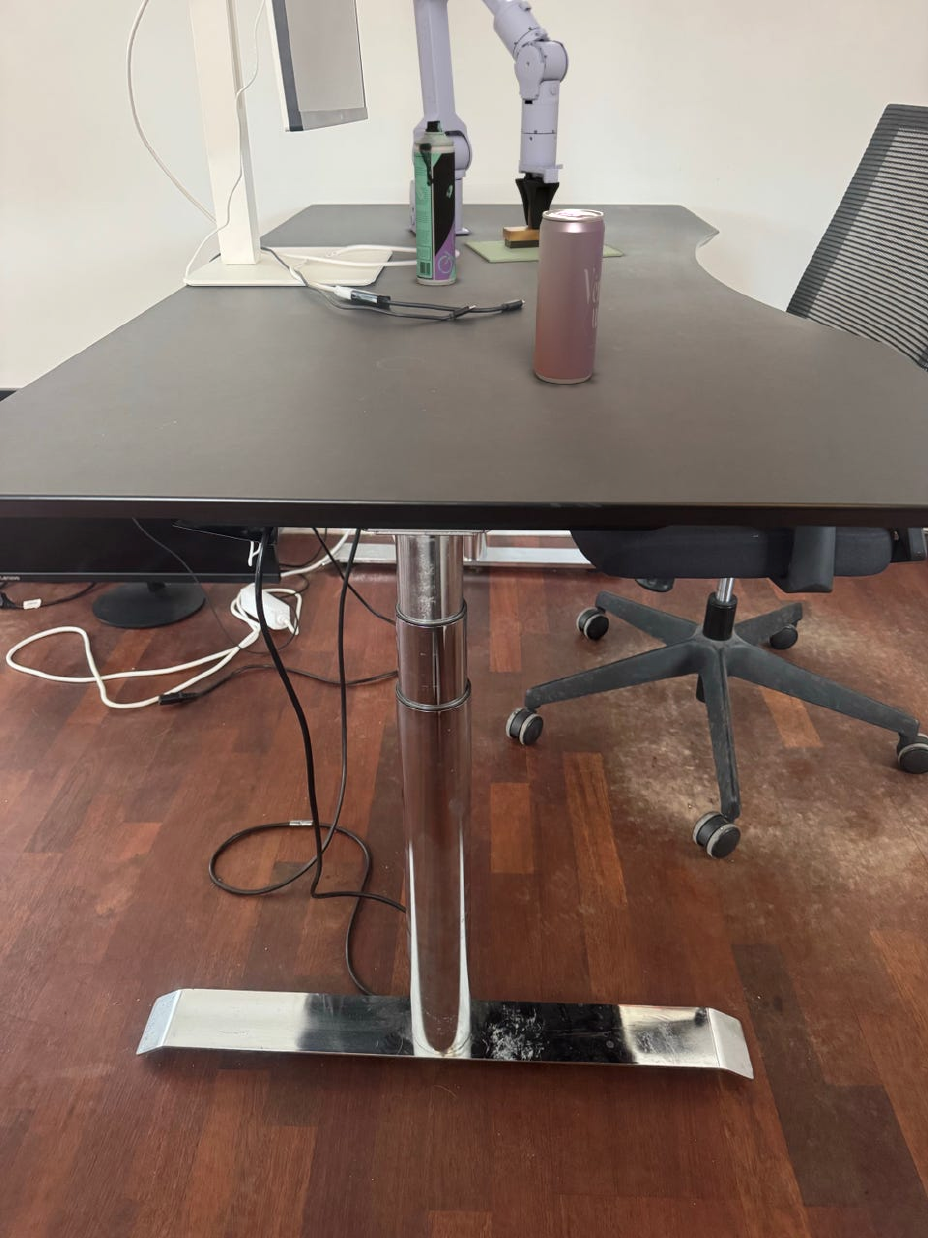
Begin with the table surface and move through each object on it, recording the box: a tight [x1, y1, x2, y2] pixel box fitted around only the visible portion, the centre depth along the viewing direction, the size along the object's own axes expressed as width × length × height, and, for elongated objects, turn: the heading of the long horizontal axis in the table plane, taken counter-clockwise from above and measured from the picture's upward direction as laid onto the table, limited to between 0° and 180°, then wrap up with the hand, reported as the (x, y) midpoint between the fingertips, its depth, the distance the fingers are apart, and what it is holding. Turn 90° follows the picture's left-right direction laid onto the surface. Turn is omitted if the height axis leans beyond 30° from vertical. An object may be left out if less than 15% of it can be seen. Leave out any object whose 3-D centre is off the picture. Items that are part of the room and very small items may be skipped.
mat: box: [465, 239, 623, 264], centre depth 144 cm, size 22×16×1 cm
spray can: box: [413, 121, 457, 286], centre depth 119 cm, size 6×6×20 cm
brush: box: [502, 210, 540, 249], centre depth 144 cm, size 10×4×7 cm, turn 104°
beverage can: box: [533, 208, 606, 385], centre depth 84 cm, size 6×6×15 cm
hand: (535, 226), depth 144 cm, fingers closed on brush, 2 cm apart
